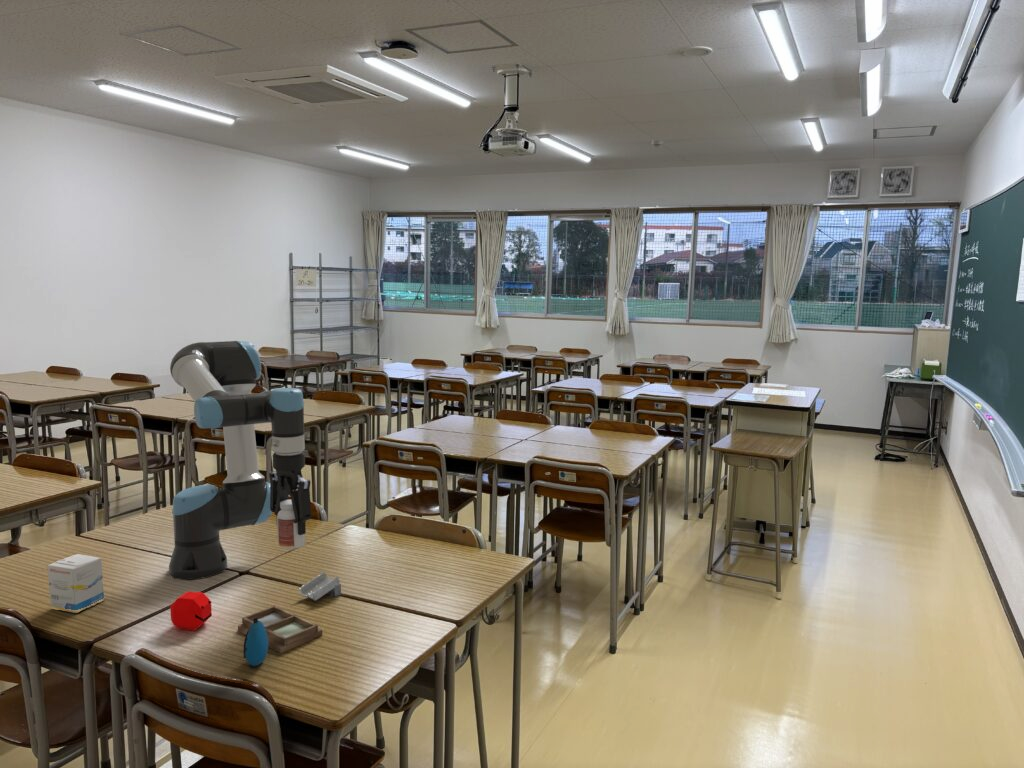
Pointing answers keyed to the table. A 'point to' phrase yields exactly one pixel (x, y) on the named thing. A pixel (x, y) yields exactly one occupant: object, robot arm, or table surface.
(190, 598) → the ball
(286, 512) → the pill bottle
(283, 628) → the divided sorting tray
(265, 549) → the table surface
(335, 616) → the table surface
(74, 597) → the ink box
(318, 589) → the feeder chute
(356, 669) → the table surface
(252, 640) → the ornament
